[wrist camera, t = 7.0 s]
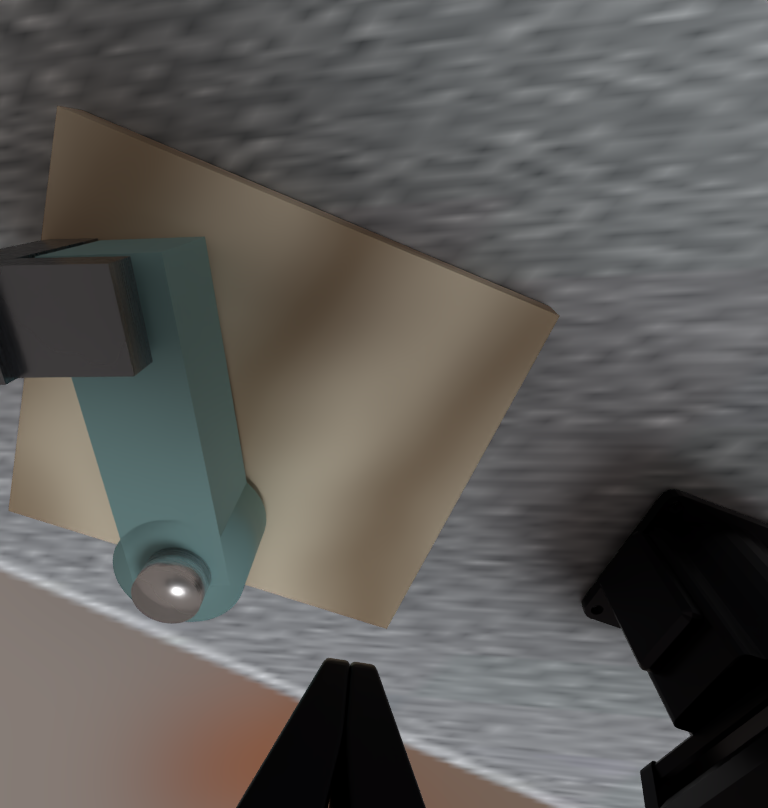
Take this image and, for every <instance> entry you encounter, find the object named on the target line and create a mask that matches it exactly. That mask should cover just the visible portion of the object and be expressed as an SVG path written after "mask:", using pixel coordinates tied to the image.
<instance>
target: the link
mask: <svg viewBox="0 0 768 808" xmlns="http://www.w3.org/2000/svg"><path fill="white" fill-rule="evenodd" d="M117 256H130V257H131V262H132V266H133V271H134V276H135V280H136V285H137V290H138V294H139V299H140V304H141V308H142V313H143V318H144V322H145V327H146V332H147V336H148V341H149V346H150V350H151V355H152V360H153V362H152V363H150V364H149V365H148V366H147V367H145V368H144V369H143V370H142V371H140V372H139V373H138V374H137V375H135V376H132V377H71V378H72V381H73V385H74V388H75V391H76V395H77V398H78V401H79V405H80V408H81V411H82V415H83V418H84V421H85V424H86V428H87V431H88V434H89V438H90V441H91V444H92V448H93V451H94V454H95V457H96V461H97V464H98V467H99V471H100V474H101V477H102V481H103V484H104V487H105V490H106V494H107V497H108V500H109V504H110V507H111V510H112V514H113V517H114V520H115V524H116V527H117V530H118V533H119V537H120V541H119V542H118V544H117V546H116V548H115V551H114V554H113V569H114V573H115V576H116V578H117V581H118V583H119V584H120V586H121V588H122V589H123V590H124V592H125V593H126V594H127V595H128V596H129V597H130V598H131V599H132V600H133V602H134V604H135V606H136V607H137V608H138V609H139V610H140V611H141V612H142V613H143V614H144V615H146V616H147V617H149V618H151V619H153V620H156V621H159V622H163V623H181V622H196V621H204V620H209V619H212V618H215V617H218V616H220V615H222V614H224V613H225V612H227V611H228V610H229V609H231V608H232V607H233V606H234V605H235V604H236V602H237V601H238V599H239V598H240V596H241V594H242V591H243V588H244V586H245V583H246V580H247V578H248V575H249V572H250V569H251V567H252V564H253V561H254V558H255V556H256V553H257V550H258V547H259V545H260V542H261V539H262V536H263V534H264V531H265V527H266V512H265V507H264V505H263V502H262V500H261V498H260V497H259V495H258V494H257V492H256V491H255V490H254V489H253V488H252V487H251V486H250V485H249V484H248V483H247V481H246V475H245V469H244V463H243V457H242V452H241V446H240V440H239V434H238V428H237V422H236V416H235V410H234V405H233V399H232V393H231V387H230V381H229V375H228V369H227V363H226V358H225V352H224V346H223V340H222V334H221V328H220V322H219V316H218V311H217V305H216V299H215V293H214V287H213V281H212V275H211V269H210V263H209V258H208V252H207V246H206V240H205V237H177V238H150V239H122V240H100V241H96V242H92V243H88V244H84V245H80V246H76V247H72V248H68V249H64V250H60V251H56V252H52V253H48V254H44V255H40V256H36V257H35V258H62V257H117Z"/></svg>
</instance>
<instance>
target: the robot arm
mask: <svg viewBox="0 0 768 808" xmlns="http://www.w3.org/2000/svg"><path fill="white" fill-rule="evenodd" d="M676 501H678V502H677V503H676V504H675V505H673V506H670V505H671V504H672V503H673V502H676ZM596 605H598V606H596ZM594 606H596V607H594ZM582 607H583V610H584V612H585V614H586V615H587V617H589V618H591V619H594V620H597V621H600V622H603V623H606V624H609V625H612V626H615V627H618V628H621V629H622V631H623V633H624V635H625V637H626V639H627V641H628V643H629V645H630V647H631V650H632V652H633V654H634V656H635V658H636V660H637V662H638V664H639V666H640V667H641V669H642V670H645V671H647V672H648V674H649V676H650V678H651V680H652V682H653V684H654V686H655V688H656V690H657V692H658V694H659V696H660V698H661V700H662V702H663V704H664V706H665V708H666V710H667V712H668V714H669V716H670V718H671V720H672V722H673V724H674V726H675V727H676V728H678V729H681V730H685V731H688V732H689V734H690V735H691V736H690V737H688V738H687V739H686V740H684V741H683V742H682V743H681V744H679V745H678V746H677V747H675V748H674V749H673V750H672V751H670V752H669V753H668V754H666V755H665V756H664V757H663V758H661V759H660V760H659V761H658V762H655V761H652V762H651V763H649V764H648V765H647V766H645V767H644V768H643V769H642V770H640V774H641V781H642V788H643V795H644V802H645V808H768V524H766V523H764V522H761V521H759V520H756V519H753V518H751V517H748V516H746V515H743V514H740V513H738V512H735V511H732V510H730V509H727V508H725V507H722V506H719V505H717V504H714V503H711V502H709V501H706V500H704V499H701V498H698V497H696V496H693V495H690V494H688V493H685V492H683V491H680V490H675V489H673V490H668V491H666V492H664V493H663V494H662V495H661V496H660V497H659V498H658V499H657V501H656V502H655V503H654V505H653V506H652V507H651V509H650V510H649V511H648V513H647V514H646V515H645V517H644V518H643V519H642V521H641V522H640V524H639V525H638V526H637V528H636V529H635V530H634V532H633V533H632V534H631V536H630V537H629V538H628V540H627V541H626V542H625V544H624V545H623V546H622V548H621V549H620V550H619V552H618V553H617V554H616V556H615V557H614V558H613V560H612V561H611V562H610V564H609V565H608V566H607V568H606V569H605V570H604V572H603V573H602V575H601V576H600V577H599V579H598V580H597V581H596V583H595V584H594V585H593V587H592V588H591V589H590V591H589V592H588V593H587V595H586V596H585V597H584V599H583V601H582ZM328 805H329V808H426V807H425V804H424V802H423V798H422V796H421V793H420V790H419V787H418V784H417V781H416V779H415V776H414V773H413V770H412V767H411V764H410V762H409V759H408V756H407V753H406V750H405V747H404V745H403V742H402V739H401V736H400V733H399V730H398V728H397V725H396V722H395V719H394V716H393V713H392V711H391V708H390V705H389V702H388V699H387V697H386V694H385V691H384V688H383V685H382V682H381V680H380V677H379V674H378V671H377V669H376V667H375V666H374V665H372V664H366V663H359V662H353V663H351V665H350V664H349V662H348V661H346V660H340V659H333V658H327V659H326V660H325V661H324V662H323V663H322V665H321V667H320V668H319V670H318V672H317V673H316V675H315V677H314V678H313V680H312V682H311V683H310V685H309V687H308V688H307V690H306V692H305V693H304V695H303V697H302V698H301V700H300V702H299V703H298V705H297V707H296V708H295V710H294V712H293V714H292V715H291V717H290V719H289V720H288V722H287V724H286V725H285V727H284V729H283V730H282V732H281V734H280V735H279V737H278V739H277V741H276V742H275V744H274V745H273V747H272V749H271V750H270V752H269V754H268V756H267V757H266V759H265V760H264V762H263V764H262V765H261V767H260V769H259V770H258V772H257V774H256V776H255V777H254V779H253V780H252V782H251V784H250V785H249V787H248V789H247V790H246V792H245V794H244V795H243V797H242V799H241V800H240V802H239V804H238V806H237V807H236V808H328Z"/></svg>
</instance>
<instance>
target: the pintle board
mask: <svg viewBox="0 0 768 808" xmlns="http://www.w3.org/2000/svg"><path fill="white" fill-rule="evenodd" d="M177 237H205V240H206V246H207V252H208V258H209V263H210V269H211V275H212V281H213V287H214V293H215V299H216V305H217V311H218V316H219V322H220V328H221V334H222V340H223V346H224V352H225V358H226V363H227V369H228V375H229V381H230V387H231V393H232V399H233V405H234V410H235V416H236V422H237V428H238V434H239V440H240V446H241V452H242V457H243V463H244V469H245V475H246V481H247V483H248V484H249V485H250V486H251V487H252V488H253V489H254V490H255V491H256V492H257V494H258V495H259V497H260V498H261V500H262V502H263V505H264V507H265V512H266V527H265V531H264V534H263V536H262V539H261V542H260V545H259V547H258V550H257V553H256V556H255V558H254V561H253V564H252V567H251V569H250V572H249V575H248V578H247V580H246V583H245V585H248V586H251V587H254V588H258V589H261V590H264V591H267V592H270V593H274V594H277V595H280V596H283V597H286V598H290V599H293V600H296V601H299V602H302V603H306V604H309V605H312V606H315V607H318V608H322V609H325V610H328V611H331V612H334V613H338V614H341V615H344V616H347V617H350V618H354V619H357V620H360V621H363V622H366V623H370V624H373V625H376V626H379V627H382V628H386V629H387V627H388V625H389V624H390V622H391V620H392V618H393V616H394V615H395V613H396V611H397V609H398V607H399V606H400V604H401V602H402V600H403V598H404V596H405V595H406V593H407V591H408V589H409V587H410V586H411V584H412V582H413V580H414V578H415V577H416V575H417V573H418V571H419V569H420V568H421V566H422V564H423V562H424V560H425V558H426V557H427V555H428V553H429V551H430V549H431V548H432V546H433V544H434V542H435V540H436V539H437V537H438V535H439V533H440V531H441V530H442V528H443V526H444V524H445V522H446V520H447V519H448V517H449V515H450V513H451V511H452V510H453V508H454V506H455V504H456V502H457V501H458V499H459V497H460V495H461V493H462V492H463V490H464V488H465V486H466V484H467V483H468V481H469V479H470V477H471V475H472V473H473V472H474V470H475V468H476V466H477V464H478V463H479V461H480V459H481V457H482V455H483V454H484V452H485V450H486V448H487V446H488V445H489V443H490V441H491V439H492V437H493V435H494V434H495V432H496V430H497V428H498V426H499V425H500V423H501V421H502V419H503V417H504V416H505V414H506V412H507V410H508V408H509V407H510V405H511V403H512V401H513V399H514V397H515V396H516V394H517V392H518V390H519V388H520V387H521V385H522V383H523V381H524V379H525V378H526V376H527V374H528V372H529V370H530V369H531V367H532V365H533V363H534V361H535V359H536V358H537V356H538V354H539V352H540V350H541V349H542V347H543V345H544V343H545V341H546V340H547V338H548V336H549V334H550V332H551V331H552V329H553V327H554V325H555V323H556V322H557V320H558V318H559V315H558V314H557V313H556V312H555V311H554V310H553V309H552V308H551V307H549V306H547V305H545V304H543V303H540V302H538V301H535V300H533V299H531V298H528V297H526V296H524V295H521V294H519V293H516V292H514V291H512V290H509V289H507V288H504V287H502V286H500V285H497V284H495V283H493V282H490V281H488V280H485V279H483V278H481V277H478V276H476V275H474V274H471V273H469V272H466V271H464V270H462V269H459V268H457V267H454V266H452V265H450V264H447V263H445V262H443V261H440V260H438V259H435V258H433V257H431V256H428V255H426V254H424V253H421V252H419V251H416V250H414V249H412V248H409V247H407V246H404V245H402V244H400V243H397V242H395V241H393V240H390V239H388V238H385V237H383V236H381V235H378V234H376V233H373V232H371V231H369V230H366V229H364V228H362V227H359V226H357V225H354V224H352V223H350V222H347V221H345V220H343V219H340V218H338V217H335V216H333V215H331V214H328V213H326V212H323V211H321V210H319V209H316V208H314V207H312V206H309V205H307V204H304V203H302V202H300V201H297V200H295V199H292V198H290V197H288V196H285V195H283V194H281V193H278V192H276V191H273V190H271V189H269V188H266V187H264V186H262V185H259V184H257V183H254V182H252V181H250V180H247V179H245V178H242V177H240V176H238V175H235V174H233V173H231V172H228V171H226V170H223V169H221V168H219V167H216V166H214V165H211V164H209V163H207V162H204V161H202V160H200V159H197V158H195V157H192V156H190V155H188V154H185V153H183V152H181V151H178V150H176V149H173V148H171V147H169V146H166V145H164V144H161V143H159V142H157V141H154V140H152V139H150V138H147V137H145V136H142V135H140V134H138V133H135V132H133V131H131V130H128V129H126V128H123V127H121V126H119V125H116V124H114V123H111V122H109V121H107V120H104V119H102V118H100V117H97V116H95V115H92V114H90V113H88V112H85V111H83V110H78V109H73V108H67V107H62V106H57V112H56V120H55V129H54V137H53V145H52V154H51V162H50V170H49V179H48V187H47V195H46V204H45V212H44V220H43V228H42V237H41V241H36V242H31V243H26V244H21V245H17V246H12V247H7V248H2V249H0V385H6V384H8V383H9V382H11V381H13V380H15V379H17V378H24V386H23V395H22V403H21V411H20V420H19V428H18V436H17V444H16V453H15V461H14V469H13V478H12V486H11V494H10V503H9V511H11V512H14V513H18V514H21V515H24V516H27V517H30V518H34V519H37V520H40V521H43V522H46V523H50V524H53V525H56V526H59V527H62V528H66V529H69V530H72V531H75V532H78V533H82V534H85V535H88V536H91V537H94V538H98V539H101V540H104V541H107V542H110V543H114V544H118V542H119V541H120V537H119V533H118V530H117V527H116V524H115V520H114V517H113V514H112V510H111V507H110V504H109V500H108V497H107V494H106V490H105V487H104V484H103V481H102V477H101V474H100V471H99V467H98V464H97V461H96V457H95V454H94V451H93V448H92V444H91V441H90V438H89V434H88V431H87V428H86V424H85V421H84V418H83V415H82V411H81V408H80V405H79V401H78V398H77V395H76V391H75V388H74V385H73V381H72V378H71V377H132V376H135V375H137V374H138V373H139V372H140V371H142V370H143V369H144V368H145V367H147V366H148V365H149V364H150V363H152V362H153V360H152V355H151V350H150V346H149V341H148V336H147V332H146V327H145V322H144V318H143V313H142V308H141V304H140V299H139V294H138V290H137V285H136V280H135V276H134V271H133V266H132V262H131V257H130V256H117V257H62V258H35V257H36V256H40V255H44V254H48V253H52V252H56V251H60V250H64V249H68V248H72V247H76V246H80V245H84V244H88V243H92V242H96V241H100V240H122V239H150V238H177Z"/></svg>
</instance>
